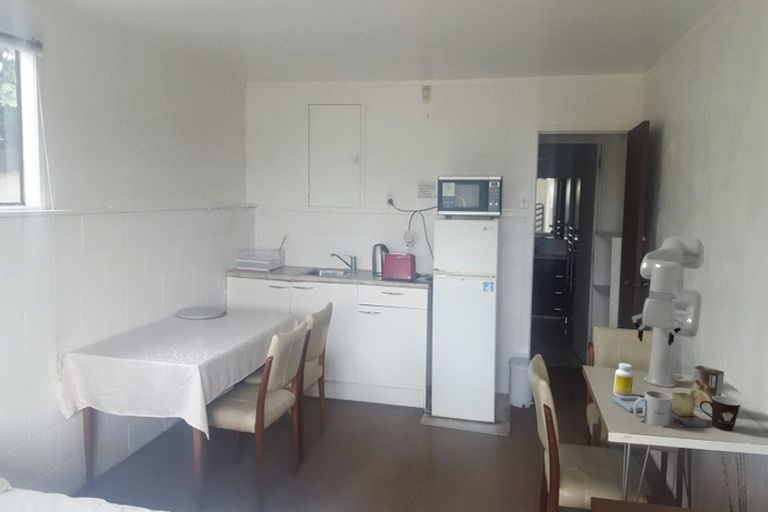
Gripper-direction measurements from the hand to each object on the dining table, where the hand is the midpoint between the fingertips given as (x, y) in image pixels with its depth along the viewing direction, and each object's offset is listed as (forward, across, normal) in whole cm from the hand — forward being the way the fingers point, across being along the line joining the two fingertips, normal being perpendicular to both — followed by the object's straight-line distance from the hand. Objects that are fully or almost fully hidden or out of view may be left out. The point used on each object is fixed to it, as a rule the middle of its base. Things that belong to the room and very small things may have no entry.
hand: (654, 342), depth 200 cm
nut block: (+27, -12, -1) cm, 30 cm away
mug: (+28, 0, +7) cm, 28 cm away
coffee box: (+27, -21, -16) cm, 38 cm away
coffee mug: (+27, -23, 0) cm, 36 cm away
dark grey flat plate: (+27, -10, -4) cm, 29 cm away
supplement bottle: (+27, +8, -16) cm, 33 cm away
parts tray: (+27, +4, -6) cm, 28 cm away
